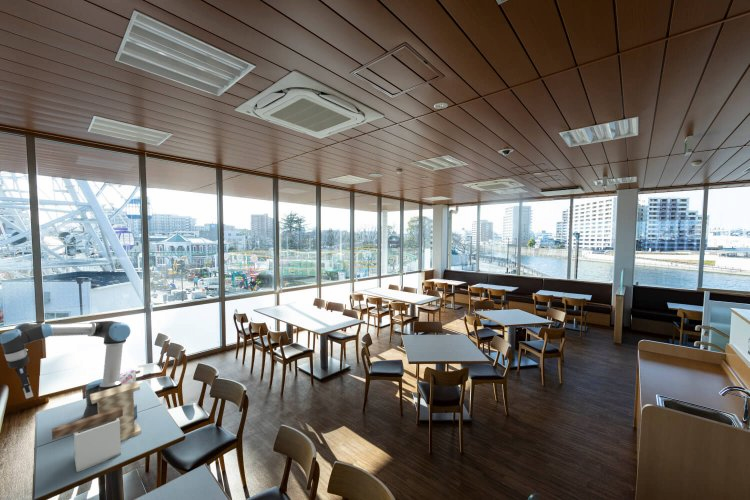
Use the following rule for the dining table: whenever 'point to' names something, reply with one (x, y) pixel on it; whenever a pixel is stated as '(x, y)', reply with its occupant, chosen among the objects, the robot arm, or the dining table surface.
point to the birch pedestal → (116, 399)
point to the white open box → (97, 444)
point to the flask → (135, 411)
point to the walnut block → (86, 422)
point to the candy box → (128, 377)
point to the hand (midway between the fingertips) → (28, 393)
